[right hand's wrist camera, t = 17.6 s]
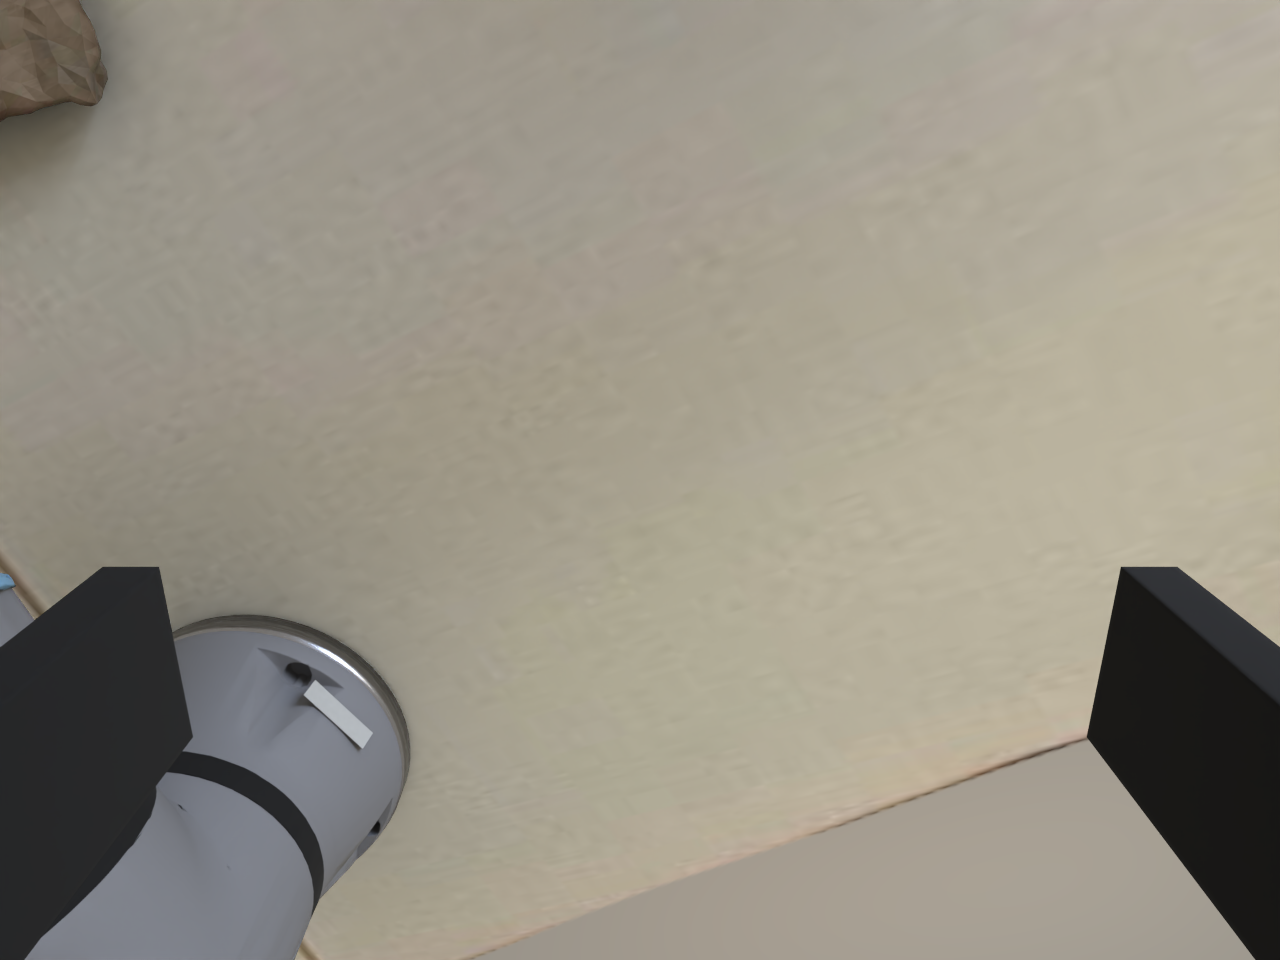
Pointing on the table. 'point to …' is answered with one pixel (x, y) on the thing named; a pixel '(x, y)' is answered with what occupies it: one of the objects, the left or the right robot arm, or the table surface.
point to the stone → (47, 56)
